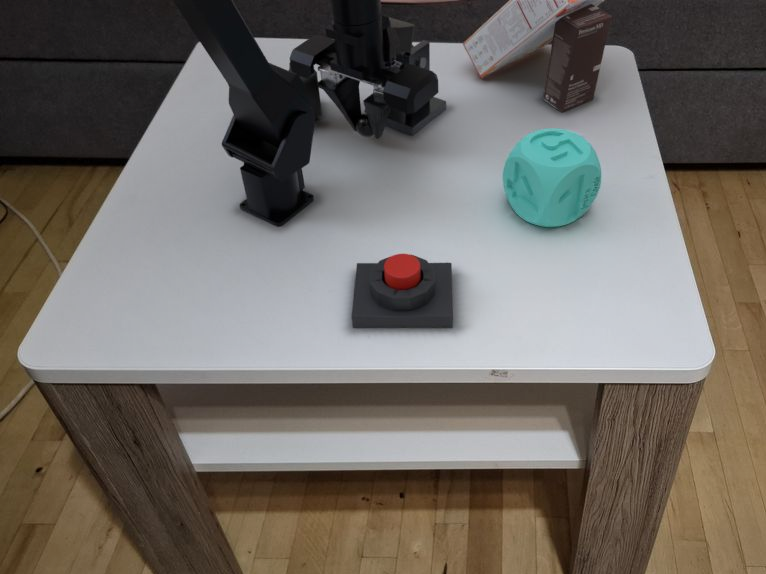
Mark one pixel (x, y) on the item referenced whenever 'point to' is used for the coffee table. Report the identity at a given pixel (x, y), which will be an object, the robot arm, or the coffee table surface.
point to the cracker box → (517, 31)
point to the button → (402, 271)
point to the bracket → (428, 110)
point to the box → (576, 57)
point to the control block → (403, 298)
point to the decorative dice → (552, 177)
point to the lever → (362, 120)
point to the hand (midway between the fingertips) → (368, 133)
